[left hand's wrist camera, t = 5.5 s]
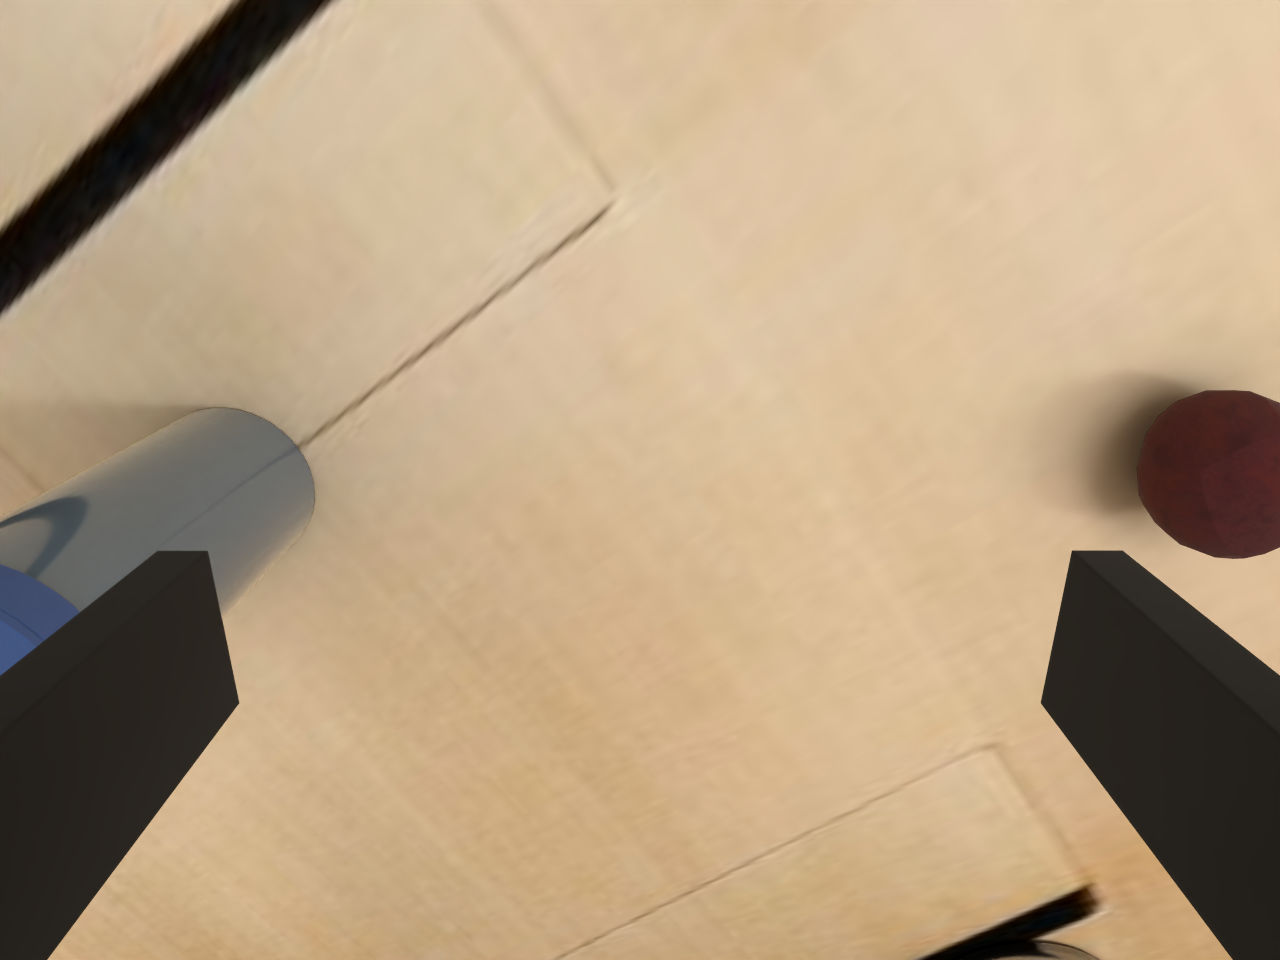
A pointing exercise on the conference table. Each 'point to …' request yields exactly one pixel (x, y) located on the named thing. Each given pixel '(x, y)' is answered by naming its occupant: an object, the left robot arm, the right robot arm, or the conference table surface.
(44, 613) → the lid
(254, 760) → the conference table surface
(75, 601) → the jar
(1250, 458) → the dark red ball
